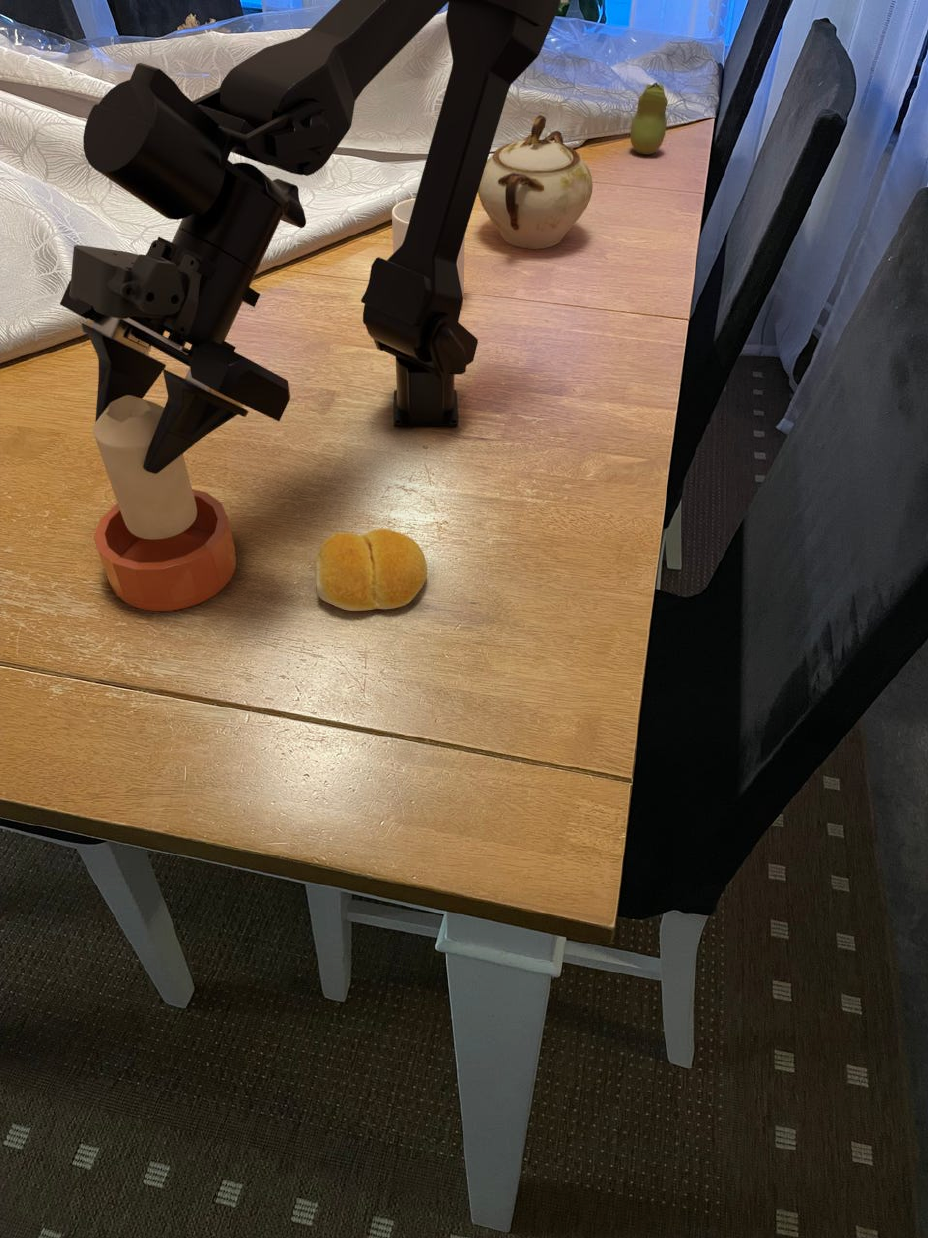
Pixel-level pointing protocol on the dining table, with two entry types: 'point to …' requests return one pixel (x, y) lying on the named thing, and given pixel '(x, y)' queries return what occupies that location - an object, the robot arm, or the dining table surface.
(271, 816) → the dining table surface
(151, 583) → the round reddish orange bowl
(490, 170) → the sugar bowl
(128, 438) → the candle
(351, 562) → the bread roll
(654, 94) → the pear
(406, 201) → the mug
